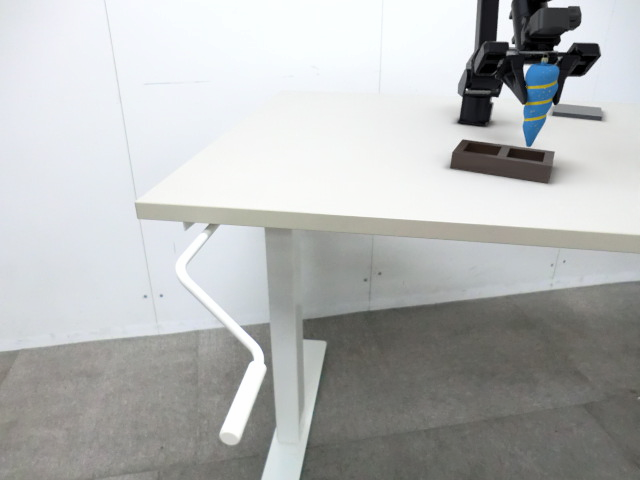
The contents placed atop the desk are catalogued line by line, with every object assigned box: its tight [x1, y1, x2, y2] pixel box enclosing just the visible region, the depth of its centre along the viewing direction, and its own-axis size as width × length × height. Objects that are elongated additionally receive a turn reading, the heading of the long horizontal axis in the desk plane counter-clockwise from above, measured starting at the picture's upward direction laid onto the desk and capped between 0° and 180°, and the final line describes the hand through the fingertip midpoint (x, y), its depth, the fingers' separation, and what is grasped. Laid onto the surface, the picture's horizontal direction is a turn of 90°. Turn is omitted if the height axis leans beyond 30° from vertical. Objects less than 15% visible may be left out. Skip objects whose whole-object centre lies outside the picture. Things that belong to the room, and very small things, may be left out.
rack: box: [449, 138, 556, 184], centre depth 85 cm, size 9×16×3 cm, turn 64°
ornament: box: [522, 54, 559, 148], centre depth 79 cm, size 5×5×15 cm
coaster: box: [552, 103, 603, 122], centre depth 123 cm, size 11×11×1 cm
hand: (540, 103), depth 78 cm, fingers closed on ornament, 5 cm apart
